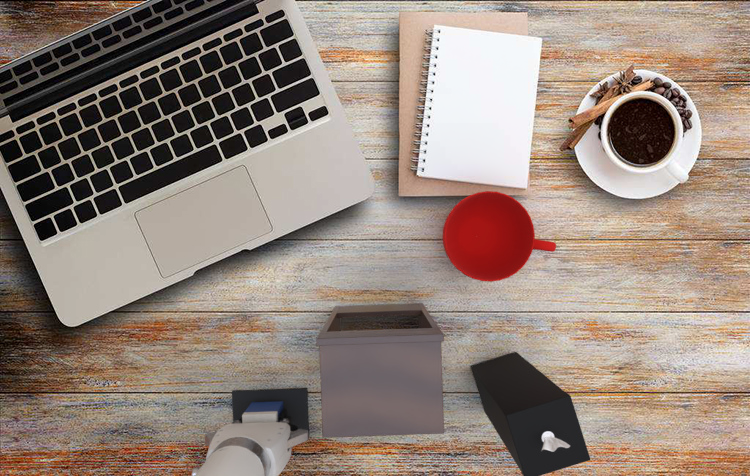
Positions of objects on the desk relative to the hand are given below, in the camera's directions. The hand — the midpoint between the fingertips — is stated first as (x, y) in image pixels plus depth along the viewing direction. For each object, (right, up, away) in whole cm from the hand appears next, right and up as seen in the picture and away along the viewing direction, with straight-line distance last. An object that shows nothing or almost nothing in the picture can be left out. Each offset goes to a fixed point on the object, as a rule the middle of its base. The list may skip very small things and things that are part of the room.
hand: (266, 419), depth 85 cm
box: (0, 0, +1) cm, 1 cm away
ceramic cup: (+35, +28, +3) cm, 45 cm away
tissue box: (+37, +5, +3) cm, 37 cm away
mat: (0, 0, +3) cm, 3 cm away
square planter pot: (+18, +12, +3) cm, 21 cm away
